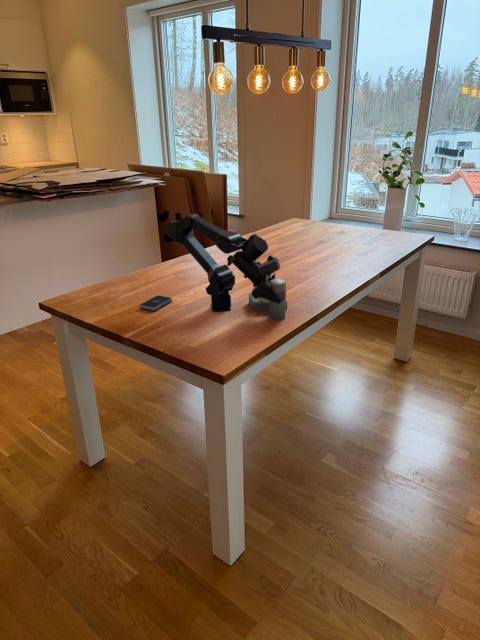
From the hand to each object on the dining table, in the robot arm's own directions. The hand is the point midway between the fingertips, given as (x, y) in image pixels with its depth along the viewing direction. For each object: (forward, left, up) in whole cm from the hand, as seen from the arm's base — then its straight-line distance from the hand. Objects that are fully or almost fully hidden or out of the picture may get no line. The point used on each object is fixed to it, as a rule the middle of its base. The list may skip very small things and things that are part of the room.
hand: (281, 299), depth 149 cm
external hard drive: (-42, +20, -7) cm, 47 cm away
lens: (-1, 0, -7) cm, 7 cm away
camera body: (-2, +10, -7) cm, 13 cm away
